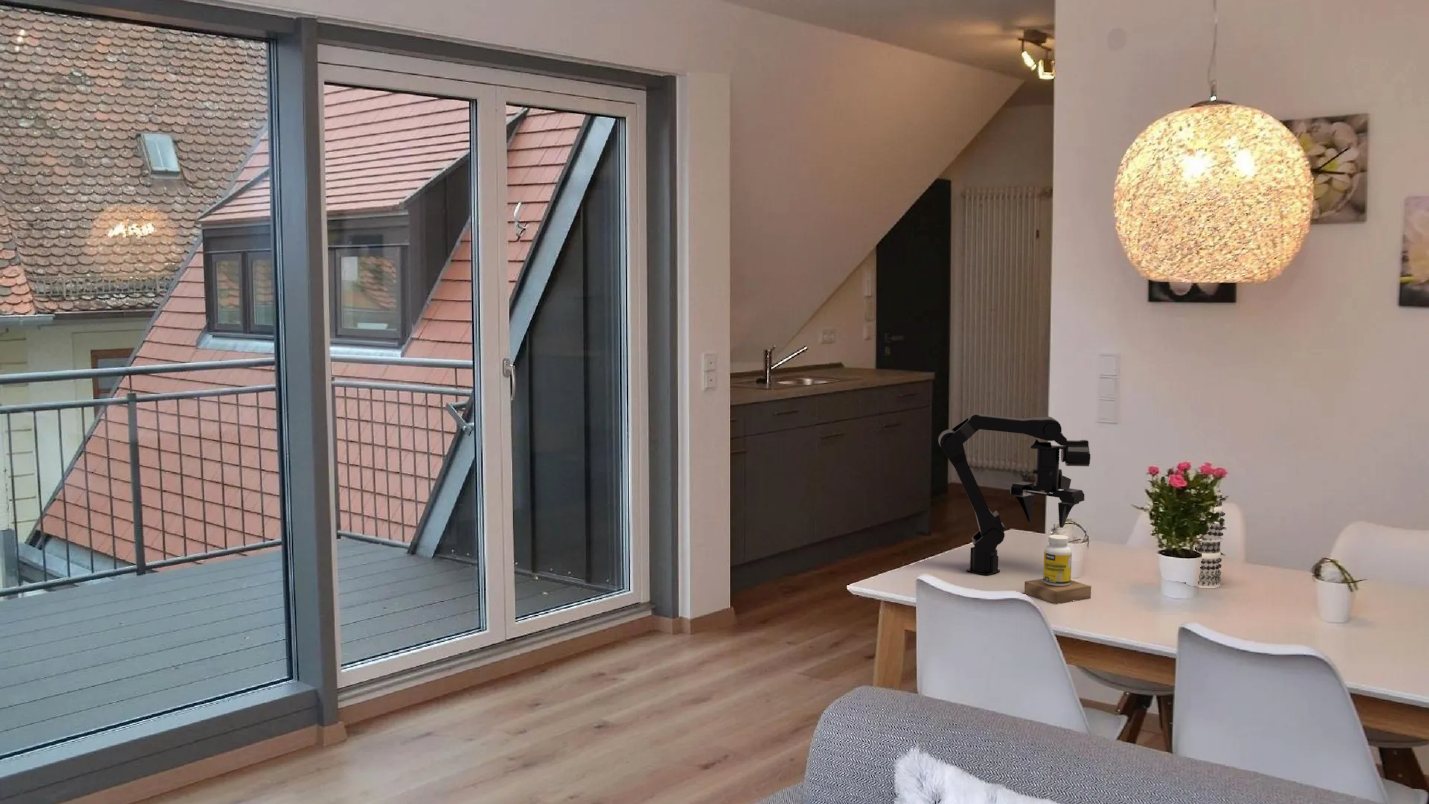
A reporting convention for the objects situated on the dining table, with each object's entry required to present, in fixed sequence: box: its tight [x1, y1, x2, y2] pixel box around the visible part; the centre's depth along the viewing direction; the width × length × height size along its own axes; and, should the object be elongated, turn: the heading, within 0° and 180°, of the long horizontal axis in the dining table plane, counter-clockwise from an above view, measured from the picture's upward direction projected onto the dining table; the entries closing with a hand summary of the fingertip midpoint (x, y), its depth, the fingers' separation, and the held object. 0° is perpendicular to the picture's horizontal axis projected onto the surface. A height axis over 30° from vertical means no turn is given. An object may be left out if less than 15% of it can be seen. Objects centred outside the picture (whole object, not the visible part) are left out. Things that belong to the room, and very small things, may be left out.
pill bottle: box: [1042, 534, 1073, 586], centre depth 292 cm, size 6×6×12 cm
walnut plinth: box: [1023, 578, 1092, 605], centre depth 292 cm, size 11×11×3 cm
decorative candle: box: [1195, 486, 1226, 589], centre depth 303 cm, size 9×9×25 cm
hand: (1045, 524), depth 313 cm, fingers open, 9 cm apart
